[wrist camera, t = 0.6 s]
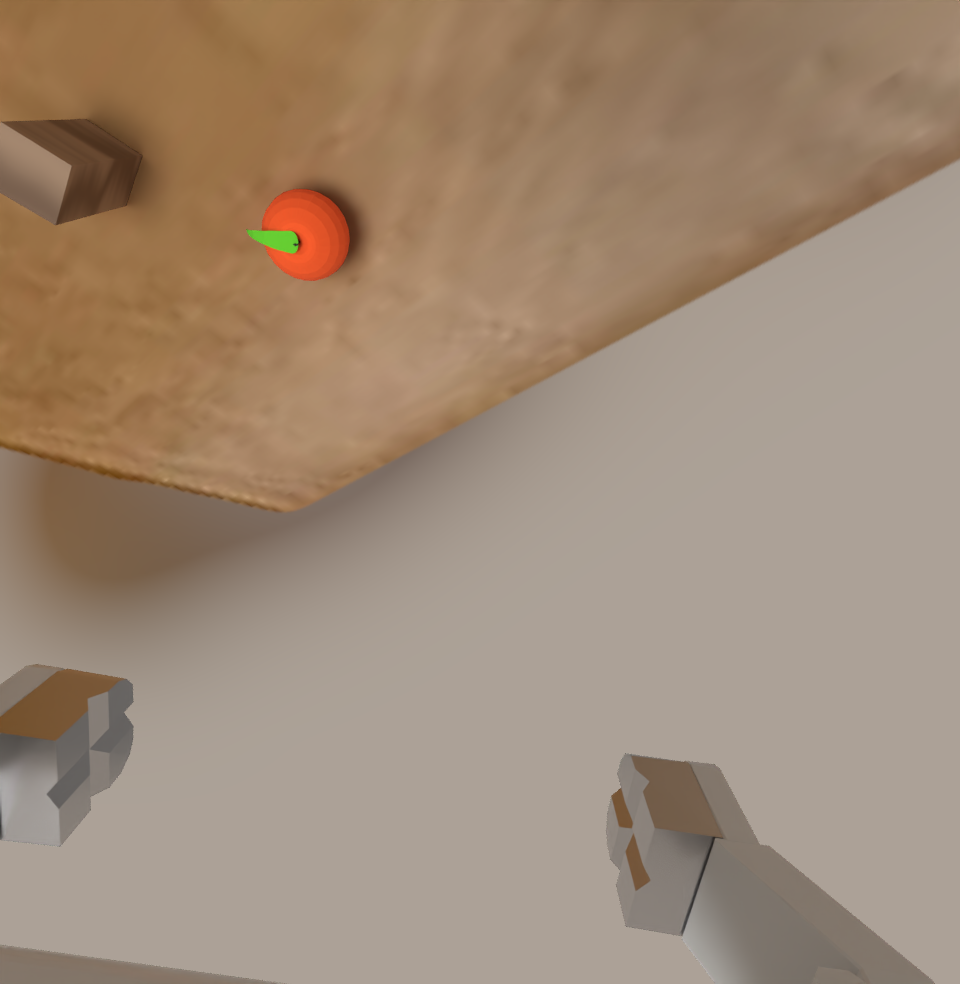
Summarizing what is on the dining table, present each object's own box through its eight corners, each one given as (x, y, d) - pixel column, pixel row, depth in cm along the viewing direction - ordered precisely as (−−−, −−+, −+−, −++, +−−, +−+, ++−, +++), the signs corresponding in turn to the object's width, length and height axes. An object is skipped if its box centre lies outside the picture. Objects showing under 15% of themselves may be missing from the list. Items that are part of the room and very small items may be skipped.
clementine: (265, 262, 53) (238, 282, 47) (260, 176, 50) (230, 185, 44) (355, 275, 54) (339, 296, 48) (357, 190, 50) (340, 202, 44)
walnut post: (85, 119, 47) (0, 121, 39) (142, 155, 49) (71, 165, 40) (71, 171, 49) (-13, 185, 41) (126, 205, 51) (55, 225, 42)
